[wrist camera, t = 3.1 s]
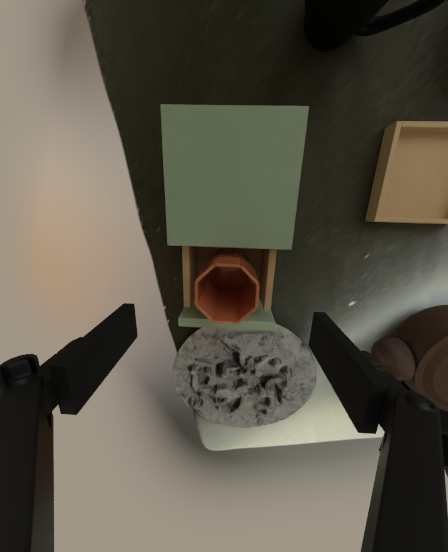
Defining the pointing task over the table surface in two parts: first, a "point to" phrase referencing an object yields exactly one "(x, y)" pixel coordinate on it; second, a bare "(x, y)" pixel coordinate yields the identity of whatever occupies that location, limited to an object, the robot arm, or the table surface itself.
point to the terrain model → (244, 375)
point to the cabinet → (232, 174)
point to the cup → (227, 287)
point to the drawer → (265, 275)
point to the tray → (411, 174)
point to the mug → (354, 19)
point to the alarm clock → (419, 354)
